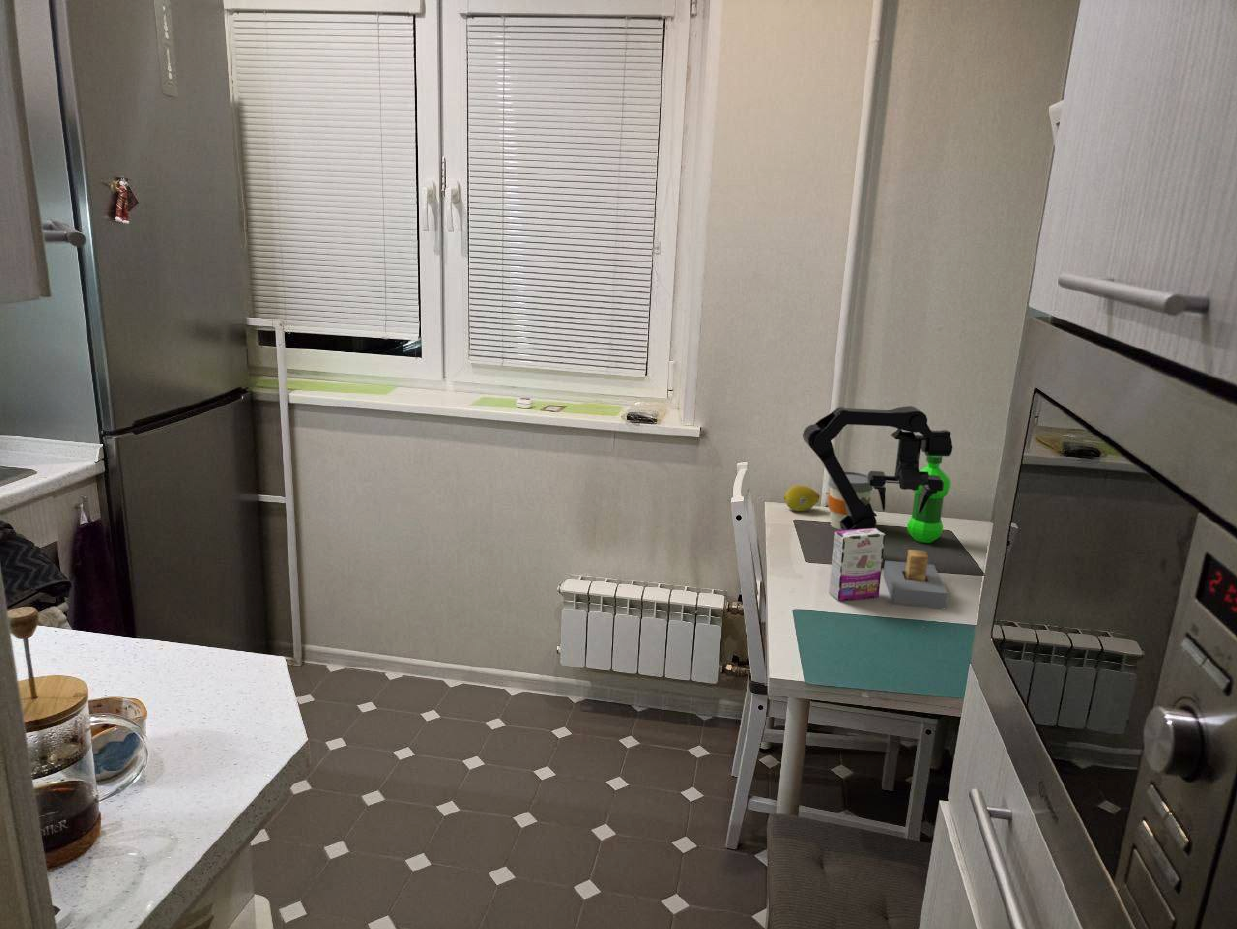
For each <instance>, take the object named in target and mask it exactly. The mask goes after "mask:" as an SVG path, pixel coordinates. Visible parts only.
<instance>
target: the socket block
mask: <svg viewBox="0 0 1237 929" xmlns="http://www.w3.org/2000/svg"><path fill="white" fill-rule="evenodd" d="M906 564H907V561H906V562H905V561H893V560H884V565H883V566H884V567H883V574H882V575H883V578H884V581H885V584H886V587H887V590H888V593H889V596H890V599H891V601H892V604H893V605H898V606H908V607H911V606H912V607H920V608H921V607H922V608H933V609H941V608H942V609H943V608H946V607H947V601H948V594H949V593H948V591H947V588H946V587H945V585H944V583H943V581H942V579H941V576H940V575H939V572H938V570H937V569H936V567H935V564H930V563H927V569H926V577H925V581H915V580H905V572H906ZM943 610H944V609H943Z"/></svg>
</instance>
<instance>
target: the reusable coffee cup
mask: <svg viewBox="0 0 1237 929" xmlns="http://www.w3.org/2000/svg"><path fill="white" fill-rule="evenodd" d="M844 472H845V474H846V476H847V478H848V480H849V481H850V483H851V485H852V487H853V488H854V490H855V492H856V494H857V496H858V497H859V499H861V498H862V497H865V498H866V500H867V501H868V502H869V503H870V502H871V500H872V498H871V492H872V491H873V489H874V487H873V486H870V485H869V483H868V480H867V479H868V474H866V473H865V474H864V473H861V472H857V471H844ZM828 486H829V492H828V508H829V510H830V525H831V527H833V528H835V529H838V530H839V531H843V530H842V529H841V527H840V523H839V522H840V521H841V520H842V519H844V518H845V517H846V516H847V515H848V514H847V511H846V507H845V503H844V500H843V498H842V497H841V495H840V493H839V491H838V490H837V488H836V486H835V484H834V482H833V481H832V479H831V477H830V476H829V481H828ZM870 504H871V503H870Z"/></svg>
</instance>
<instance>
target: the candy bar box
mask: <svg viewBox="0 0 1237 929" xmlns="http://www.w3.org/2000/svg"><path fill="white" fill-rule="evenodd" d="M833 536H834V538H833V549H832V561H831V572H830V582H829V584H830V585H829V595H830V596H832V598H834V599H835V600H836V601H837V602H845V601H847V602H848V601H856V600H866V599H873V598H879V597H880V587H881V580H882V579H881V578H882V567H883V559H884V551H885V550H884V549H885V541H886V540H885V539H886V534H885V533H884V532H882V531H881V530H880V529H878V528H877V527H875V528H869V529H856V530H844V531H843V530H835V531H834V535H833Z"/></svg>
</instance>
